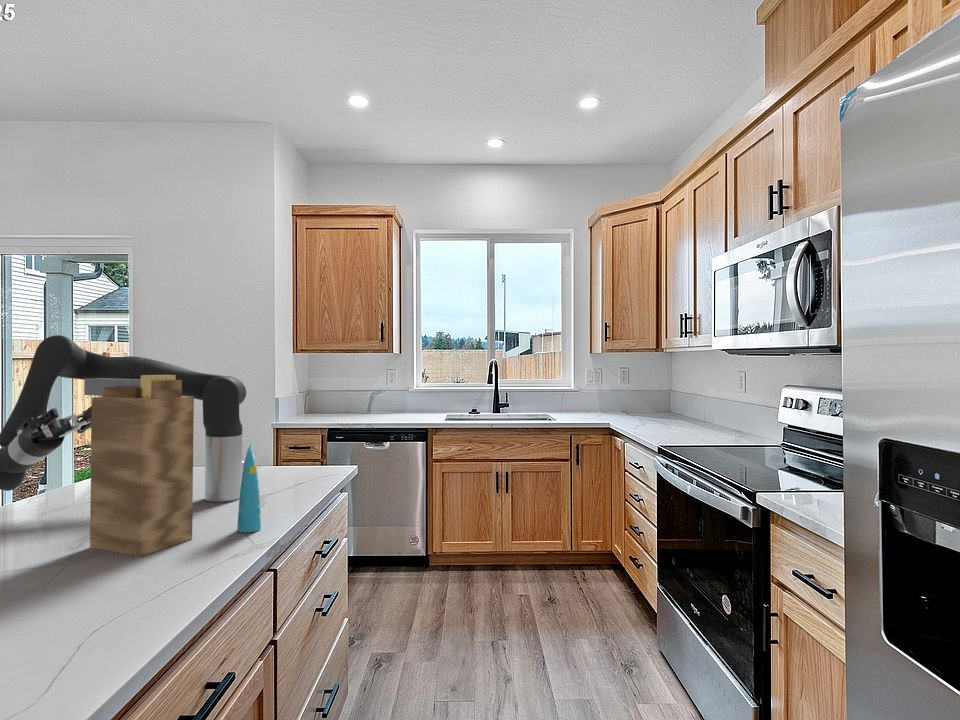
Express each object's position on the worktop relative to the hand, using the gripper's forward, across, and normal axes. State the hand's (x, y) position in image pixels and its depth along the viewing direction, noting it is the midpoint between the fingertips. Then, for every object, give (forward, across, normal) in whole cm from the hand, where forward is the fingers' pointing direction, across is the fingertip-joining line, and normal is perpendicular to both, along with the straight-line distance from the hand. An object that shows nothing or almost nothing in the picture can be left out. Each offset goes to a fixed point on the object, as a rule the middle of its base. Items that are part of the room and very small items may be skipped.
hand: (76, 410), depth 129 cm
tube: (+18, +15, +41) cm, 47 cm away
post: (+8, -1, +34) cm, 35 cm away
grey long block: (+18, -2, +6) cm, 19 cm away
